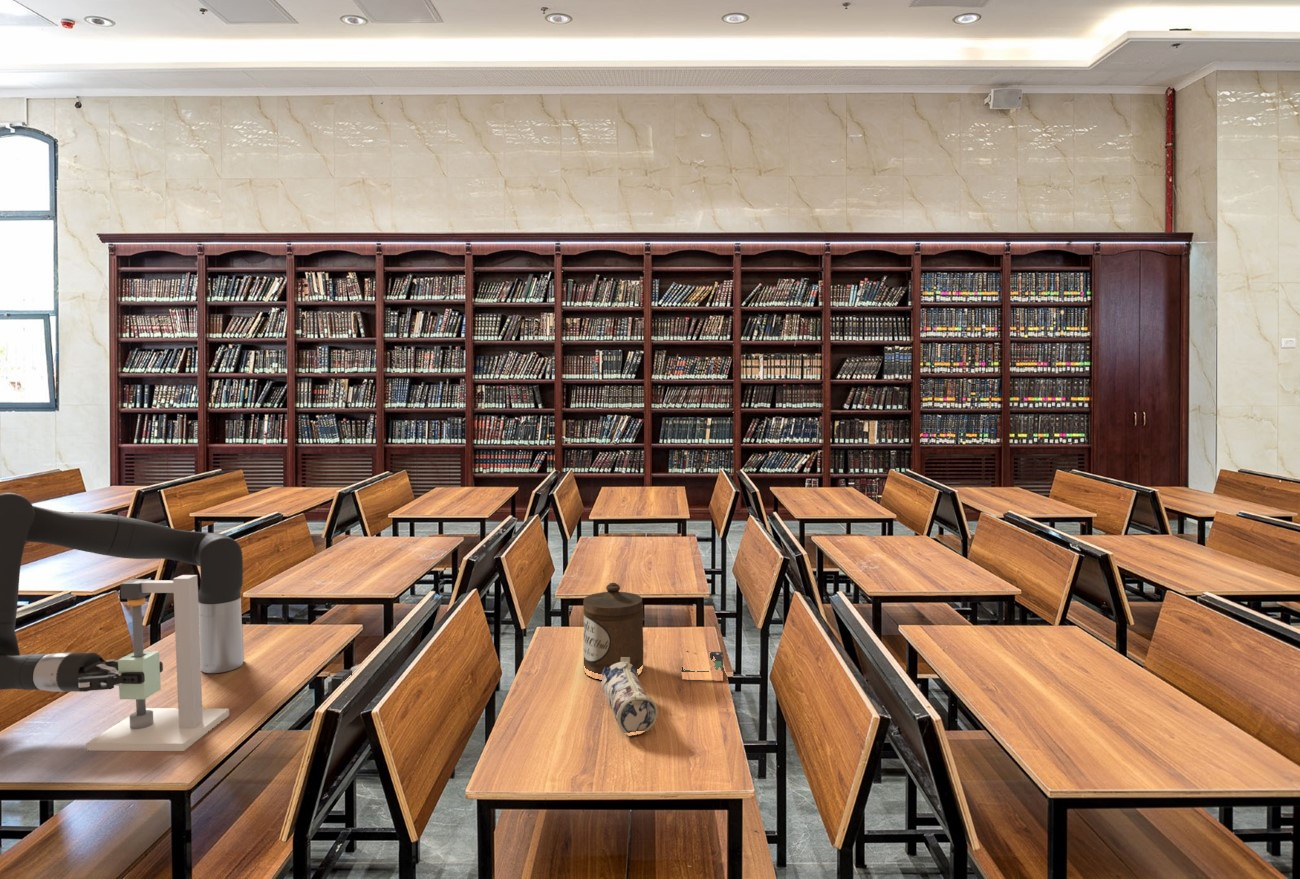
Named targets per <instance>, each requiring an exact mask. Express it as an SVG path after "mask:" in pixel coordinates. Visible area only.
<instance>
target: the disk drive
mask: <svg viewBox="0 0 1300 879" xmlns="http://www.w3.org/2000/svg"><path fill="white" fill-rule="evenodd" d="M710 652H711V653H710V658H711V660H712V659H713V656H714V657H715V659H716V660H715V661H713V662H714V663H715V666H714V667H716V668H715V669H716V670H718V668H719V667H720V668H721V671H722V672H723V673H724V652H723V651H710ZM681 668H682V670H681V672H695V671H690V670H685V669H684V670H685V671H684V670H683V667H682V666H681ZM681 672H680V673H681ZM697 672H709V671H697Z"/></svg>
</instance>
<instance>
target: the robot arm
mask: <svg viewBox="0 0 1300 879" xmlns="http://www.w3.org/2000/svg"><path fill="white" fill-rule="evenodd" d="M27 542H29V543H42V544H49V545H54V546H60V547H65V548H68V549H72V550H77V551H81V552H86V553H92V554H97V555H101V556H102V555H103V556H108V557H114V558H115V557H116V558H121V559H130V560H143V559H144V560H154V559H157V560H158V559H160V560H161V559H165V560H170V561H171V560H172V561H178V562H182V563H186V564H191V565H193V566H198V567H199V569H200V587H199V589H198V609H199V635H200V662H201V672H203V673H207V674H218V673H226V672H230V671H233V670H237V669H238V668H240V667H242V666H243V664H244V660H245V652H244V650H245V648H244V625H243V623H242V622H243V621H242V598H241V597H242V594H241V593H242V592H241V591H242V587H243V582H244V581H243V579H244V572H243V571H244V566H243V564H244V563H243V560H244V559H243V551H242V547H241V546H240V544H239V542H237V541H236V540H235V539H233V538H232V537H230V536H228V535H227V534H223V533H216V532H203V531H192V530H182V529H177V528H173V527H170V526H165V525H163V524H159V523H154V522H151V521H147V520H142V519H139V518H138V519H137V518H133V517H129V516H128V517H127V516H122V515H117V514H110V513H99V512H98V513H97V512H68V511H59V510H53V509H49V508H44V507H40V506H36V505H33V504H32V502H31V501H30V499H28V498H26V497H25V496H23V495H21V494H19V493H15V492H14V493H13V492H3V493H0V691H2V690H22V691H23V690H25V691H26V690H27V691H47V692H70V693H71V692H75V693H76V692H77V693H78V692H80V693H82V692H83V693H85V692H91V691H103V690H112V689H115V686H117V687H119V686H121V685H123V684H142V683H143V682H144V681H145V676H144V673H143V672H124V673H123V672H122V671H118V660H119V659H116V658H111V659H106V660H104V659H103V657H102V656H101V655H100V654H99V653H97V652H55V653H29V654H20V648H19V643H18V638H17V635H16V621H17V612H18V605H19V604H18V600H19V589H20V588H19V587H20V576H21V575H20V573H21V572H20V571H21V566H22V560H23V554H24V551H25V550H24V549H25V545H26V543H27ZM127 655H128V654H124V655H122V657H121V658H123V657H125V656H127ZM162 672H164V664H163V662H162V661H160V674H161V673H162Z"/></svg>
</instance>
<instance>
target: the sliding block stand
mask: <svg viewBox="0 0 1300 879" xmlns="http://www.w3.org/2000/svg"><path fill="white" fill-rule="evenodd" d="M198 591H199V586H198V574H182V575H178V576H177V577H173V579H172V580H167V579H166V580H165V579H164V580H162V579H160V580H159V579H158V580H157V579H155V580H154V579H150V578H146V579H145V578H133V579H130V580H126V581H124V582H122V583H120V598H121V599H120V600H123V599H124V600H127V606H128V607H131V615H132V616H131V617H132V638H133V640H132V641H133V643H132V644H133V652H134V658H141V657H143V656H144V652H143V651H144V633H143V632H144V631H143V629H144V628H143V612H142V606H143V605H145V604H146V603H147V602H146V597H147V596H149V595H152V594H163V593H164V594H173V606H174V607H173V611H174V631H175V633H174V637H175V657H176V658H175V660H176V685H177V688H176V689H177V708H172V707H171V708H170V707H169V708H167V707H164V708H163V707H157V708H156V707H155V708H154V707H147V701H146V699H135V706H136V708H135V710H136V712H134V713H131V714H129V715H128V716H127V717H126V718H124V719H122V720H121V721H119V722H118V723H116V724H115V725H113V726H111V727H110V728H108V729H106V730H105V731H103V732H102V733H100V734H99V735H97V736H95V737H94V738H91V740H89V741H88V742H86V751H88V750H89V751H90V752H91V751H94V752H95V751H104V752H105V751H108V752H111V751H115V752H116V751H118V752H123V751H125V752H127V751H128V752H130V751H131V752H137V751H138V752H184V751H186V750H187V749H188V748H190V746H192V745H193V744H195V743H196V742H197V741H198V740H199V739H200V740H201V738H202V737H203V736H205V735H206V734H208V733H209V732H210V731H211V730H213V729H214V728H215V727H216V726H218V725H219V724H221V723H222V722H223V721H224V720H226V719H227V718H228V717H230V708H203V701H202V700H203V695H202V694H203V693H202V673H201V672H202V671H201V660H200V630H199V604H198ZM221 721H222V722H221ZM217 724H218V725H217ZM212 728H213V729H212ZM208 731H209V732H208Z"/></svg>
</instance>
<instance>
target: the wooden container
mask: <svg viewBox="0 0 1300 879" xmlns="http://www.w3.org/2000/svg"><path fill="white" fill-rule="evenodd" d="M605 587H606V588H605V589H606V591H602V592H595V593H592V594H590V595H586V596H585V597H584V598H583V603H582V604H583V607H582V609H583V638H582V642H583V643H582V644H583V648H582V649H583V650H582V651H583V652H582V653H583V667H584V666H585V668H586V669H588V670H589V671H592V672H594V673H598V674H602V672H603V670H604V668H605V666H607V667H608V668H609V667H610V666H612V665H613V664H616V663H619V662H621V657H629V658H630V664H632V665H633V666H634V667H635V669H636V670H637V669H639V668H640V667H641V666H642V665H643V666H644V627H643V626H644V624H643V623H644V622H643V618H644V617H643V598H642V597H641V596H640V595H638V594H636V593H632V592H625V591H620V590H621V586H620V585H619V584H617V583H616V582H610V583H609V584H607V585H606V586H605Z"/></svg>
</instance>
